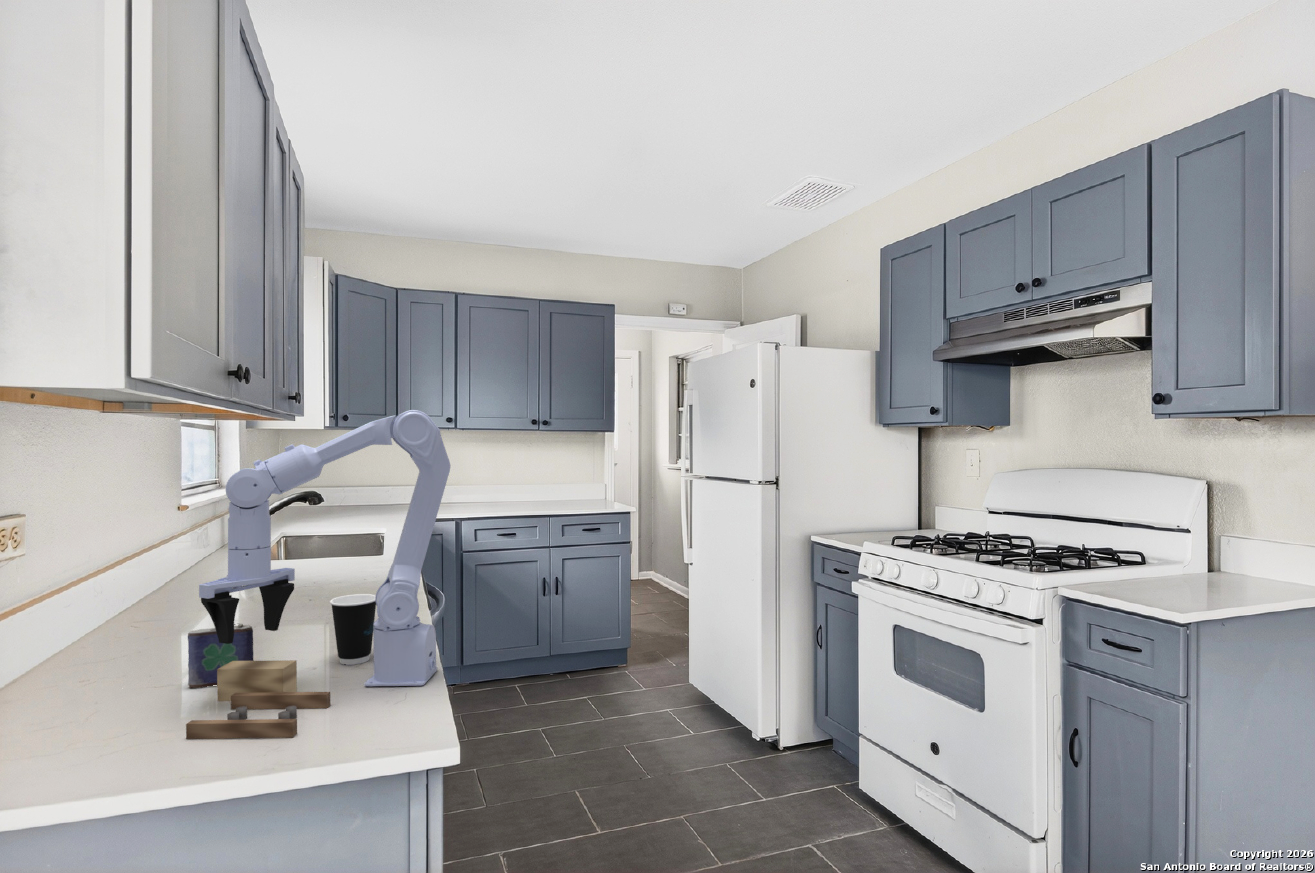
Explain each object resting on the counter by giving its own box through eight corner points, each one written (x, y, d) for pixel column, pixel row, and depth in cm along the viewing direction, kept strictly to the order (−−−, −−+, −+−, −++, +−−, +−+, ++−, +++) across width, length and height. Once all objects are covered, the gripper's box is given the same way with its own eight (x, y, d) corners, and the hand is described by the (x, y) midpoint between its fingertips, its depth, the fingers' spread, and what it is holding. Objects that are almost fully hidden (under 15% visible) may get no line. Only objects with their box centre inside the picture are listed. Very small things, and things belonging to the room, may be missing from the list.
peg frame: (330, 705, 107) (330, 691, 107) (292, 737, 96) (292, 722, 96) (235, 706, 107) (235, 692, 107) (186, 738, 95) (186, 723, 95)
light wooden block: (296, 692, 113) (296, 660, 113) (283, 701, 109) (283, 668, 109) (233, 692, 113) (232, 660, 113) (217, 702, 109) (217, 669, 109)
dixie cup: (383, 662, 127) (382, 599, 127) (334, 670, 123) (334, 606, 123) (373, 651, 134) (372, 591, 134) (326, 658, 129) (326, 597, 129)
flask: (186, 689, 114) (186, 622, 114) (191, 683, 117) (191, 617, 117) (252, 682, 117) (251, 616, 117) (255, 677, 120) (255, 612, 120)
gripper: (272, 539, 118) (272, 622, 118) (184, 552, 105) (184, 645, 105) (304, 541, 115) (304, 626, 115) (217, 555, 102) (217, 651, 102)
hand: (249, 636), depth 110 cm, fingers open, 7 cm apart
